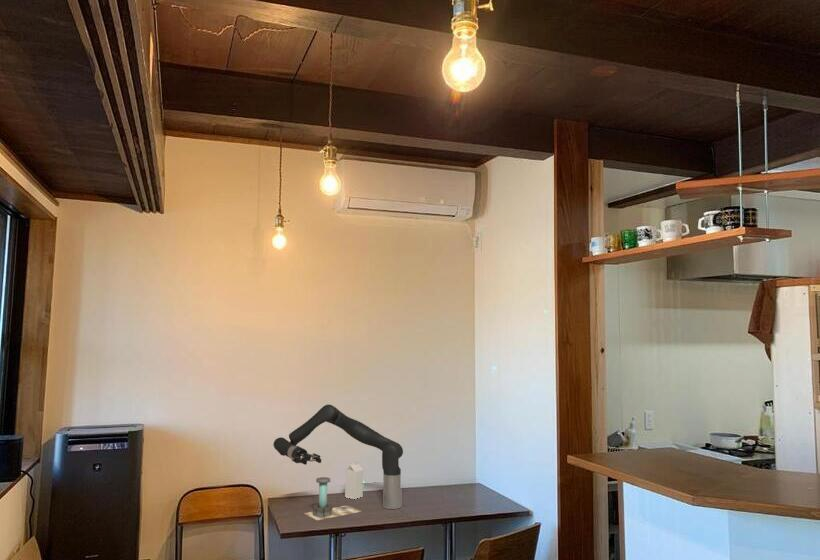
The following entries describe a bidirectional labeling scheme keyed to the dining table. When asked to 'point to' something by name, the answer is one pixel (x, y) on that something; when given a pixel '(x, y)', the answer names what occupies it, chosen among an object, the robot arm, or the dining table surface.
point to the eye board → (334, 513)
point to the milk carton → (354, 481)
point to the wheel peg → (323, 491)
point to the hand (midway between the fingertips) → (313, 461)
